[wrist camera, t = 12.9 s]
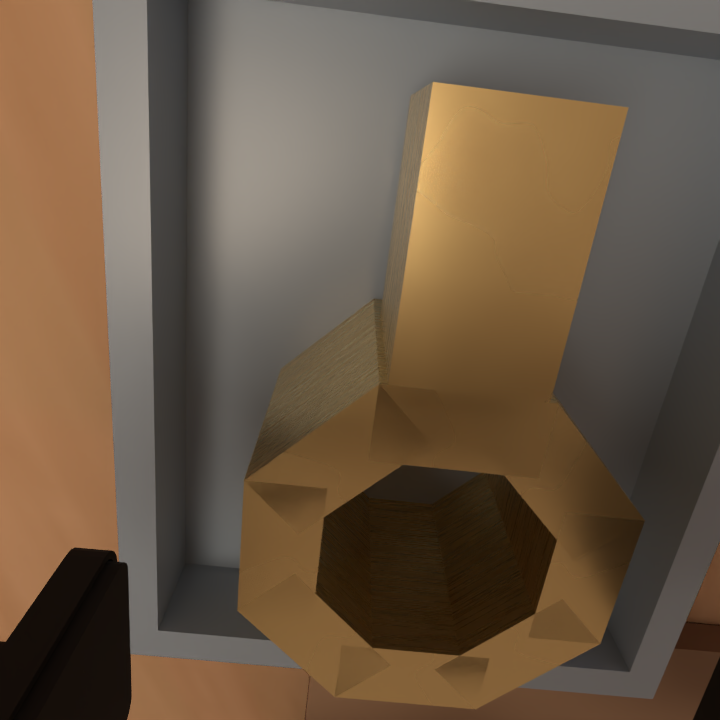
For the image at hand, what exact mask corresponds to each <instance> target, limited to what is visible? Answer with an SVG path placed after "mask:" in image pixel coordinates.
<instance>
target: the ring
mask: <svg viewBox="0 0 720 720" xmlns="http://www.w3.org/2000/svg"><path fill="white" fill-rule="evenodd" d="M628 108H629V107H622V106H614V105H606V104H599V103H591V102H583V101H576V100H568V99H561V98H553V97H545V96H538V95H530V94H522V93H515V92H507V91H499V90H492V89H484V88H476V87H469V86H461V85H454V84H446V83H438V82H432V83H430V84H429V85H427V86H425V87H424V88H422V89H421V90H419V91H417V92H416V93H414V94H412V95H411V96H410V102H409V109H408V117H407V124H406V131H405V139H404V146H403V153H402V161H401V168H400V175H399V182H398V190H397V197H396V204H395V212H394V219H393V226H392V234H391V241H390V248H389V256H388V263H387V270H386V277H385V285H384V292H383V299H382V300H381V299H372V300H371V301H370V302H368V303H367V304H366V305H364V306H363V307H362V308H361V309H359V310H358V311H357V312H355V313H354V314H353V315H351V316H350V317H349V318H347V319H346V320H345V321H343V322H342V323H341V324H339V325H338V326H337V327H335V328H334V329H333V330H331V331H330V332H329V333H327V334H326V335H325V336H324V337H322V338H321V339H320V340H318V341H317V342H316V343H314V344H313V345H312V346H310V347H309V348H308V349H306V350H305V351H304V352H302V353H301V354H300V355H298V356H297V357H296V358H294V359H293V360H292V361H291V362H289V363H288V364H287V365H285V366H284V367H283V368H281V370H280V373H279V376H278V379H277V382H276V385H275V388H274V391H273V394H272V397H271V400H270V403H269V406H268V409H267V412H266V415H265V418H264V421H263V424H262V427H261V430H260V433H259V436H258V439H257V442H256V445H255V448H254V451H253V454H252V457H251V460H250V463H249V466H248V469H247V472H246V475H245V478H244V490H243V509H242V528H241V548H240V567H239V587H238V606H237V611H238V612H239V613H240V614H242V615H243V616H244V617H245V618H246V619H247V620H248V621H249V622H251V623H252V624H253V625H254V626H255V627H256V628H257V629H258V630H260V631H261V632H262V633H263V634H264V635H265V636H266V637H267V638H269V639H270V640H271V641H272V642H273V643H274V644H275V645H276V646H278V647H279V648H280V649H281V650H282V651H283V652H284V653H285V654H287V655H288V656H289V657H290V658H291V659H292V660H293V661H294V662H296V663H297V664H298V665H299V666H300V667H301V668H302V669H303V670H305V671H306V672H307V673H308V674H309V675H310V676H311V677H312V678H314V679H315V680H316V681H317V682H318V683H319V684H320V685H321V686H323V687H324V688H325V689H326V690H327V691H328V692H329V693H330V694H332V695H333V696H334V697H338V698H350V699H361V700H373V701H385V702H396V703H408V704H419V705H431V706H442V707H454V708H466V709H477V708H479V707H481V706H483V705H485V704H487V703H489V702H491V701H492V700H494V699H496V698H498V697H500V696H502V695H504V694H506V693H508V692H510V691H512V690H514V689H515V688H517V687H519V686H521V685H523V684H525V683H527V682H529V681H531V680H533V679H535V678H536V677H538V676H540V675H542V674H544V673H546V672H548V671H550V670H552V669H554V668H556V667H557V666H559V665H561V664H563V663H565V662H567V661H569V660H571V659H573V658H575V657H577V656H578V655H580V654H582V653H584V652H586V651H588V650H590V649H592V648H594V647H596V646H598V645H599V644H601V641H602V638H603V635H604V633H605V630H606V627H607V624H608V622H609V619H610V616H611V613H612V611H613V608H614V605H615V602H616V600H617V597H618V594H619V591H620V588H621V586H622V583H623V580H624V577H625V575H626V572H627V569H628V566H629V564H630V561H631V558H632V555H633V553H634V550H635V547H636V544H637V542H638V539H639V536H640V533H641V531H642V528H643V525H644V522H645V520H644V519H643V517H642V516H641V514H640V513H639V512H638V510H637V509H636V507H635V506H634V505H633V503H632V502H631V500H630V499H629V498H628V496H627V495H626V493H625V492H624V491H623V489H622V488H621V486H620V485H619V484H618V482H617V481H616V480H615V478H614V477H613V475H612V474H611V473H610V471H609V470H608V468H607V467H606V466H605V464H604V463H603V461H602V460H601V459H600V457H599V456H598V454H597V453H596V452H595V450H594V449H593V447H592V446H591V445H590V443H589V442H588V440H587V439H586V438H585V436H584V435H583V434H582V432H581V431H580V429H579V428H578V427H577V425H576V424H575V422H574V421H573V420H572V418H571V417H570V415H569V414H568V413H567V411H566V410H565V408H564V407H563V406H562V404H561V403H560V401H559V400H558V399H557V398H556V396H555V395H554V393H553V390H554V387H555V383H556V379H557V375H558V372H559V368H560V364H561V360H562V357H563V353H564V349H565V345H566V341H567V338H568V334H569V330H570V326H571V323H572V319H573V315H574V311H575V308H576V304H577V300H578V296H579V293H580V289H581V285H582V281H583V277H584V274H585V270H586V266H587V262H588V259H589V255H590V251H591V247H592V244H593V240H594V236H595V232H596V229H597V225H598V221H599V217H600V213H601V210H602V206H603V202H604V198H605V195H606V191H607V187H608V183H609V180H610V176H611V172H612V168H613V165H614V161H615V157H616V153H617V149H618V146H619V142H620V138H621V134H622V131H623V127H624V123H625V119H626V116H627V112H628ZM402 465H411V466H420V467H430V468H440V469H449V470H459V471H469V472H478V473H480V474H478V475H477V476H475V477H474V478H472V479H471V480H469V481H467V482H466V483H464V484H463V485H461V486H460V487H458V488H456V489H455V490H453V491H452V492H450V493H449V494H447V495H445V496H444V497H442V498H441V499H439V500H438V501H436V502H434V503H433V504H425V503H415V502H405V501H395V500H385V499H375V498H369V497H368V496H367V495H366V494H365V493H364V492H363V491H364V490H366V489H367V488H369V487H370V486H372V485H373V484H375V483H376V482H378V481H379V480H381V479H382V478H384V477H385V476H387V475H388V474H390V473H391V472H393V471H394V470H396V469H397V468H399V467H400V466H402Z"/></svg>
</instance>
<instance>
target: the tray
mask: <svg viewBox="0 0 720 720" xmlns="http://www.w3.org/2000/svg"><path fill="white" fill-rule="evenodd" d="M93 20H94V41H95V62H96V83H97V104H98V125H99V147H100V168H101V189H102V210H103V231H104V252H105V273H106V294H107V315H108V336H109V357H110V378H111V399H112V420H113V441H114V462H115V483H116V504H117V525H118V546H119V562H125V563H127V565H128V580H129V618H130V654H137V655H148V656H160V657H171V658H183V659H194V660H206V661H218V662H229V663H241V664H252V665H264V666H275V667H287V668H298V669H302V668H301V667H300V666H299V665H298V664H297V663H296V662H294V661H293V660H292V659H291V658H290V657H289V656H288V655H287V654H285V653H284V652H283V651H282V650H281V649H280V648H279V647H278V646H276V645H275V644H274V643H273V642H272V641H271V640H270V639H269V638H267V637H266V636H265V635H264V634H263V633H262V632H261V631H260V630H258V629H257V628H256V627H255V626H254V625H253V624H252V623H251V622H249V621H248V620H247V619H246V618H245V617H244V616H243V615H242V614H240V613H239V612H238V611H237V606H238V587H239V567H240V548H241V528H242V509H243V490H244V478H245V475H246V472H247V469H248V466H249V463H250V460H251V457H252V454H253V451H254V448H255V445H256V442H257V439H258V436H259V433H260V430H261V427H262V424H263V421H264V418H265V415H266V412H267V409H268V406H269V403H270V400H271V397H272V394H273V391H274V388H275V385H276V382H277V379H278V376H279V373H280V370H281V368H283V367H284V366H285V365H287V364H288V363H289V362H291V361H292V360H293V359H294V358H296V357H297V356H298V355H300V354H301V353H302V352H304V351H305V350H306V349H308V348H309V347H310V346H312V345H313V344H314V343H316V342H317V341H318V340H320V339H321V338H322V337H324V336H325V335H326V334H327V333H329V332H330V331H331V330H333V329H334V328H335V327H337V326H338V325H339V324H341V323H342V322H343V321H345V320H346V319H347V318H349V317H350V316H351V315H353V314H354V313H355V312H357V311H358V310H359V309H361V308H362V307H363V306H364V305H366V304H367V303H368V302H370V301H371V300H372V299H381V300H382V299H383V292H384V285H385V277H386V270H387V263H388V256H389V248H390V241H391V234H392V226H393V219H394V212H395V204H396V197H397V190H398V182H399V175H400V168H401V161H402V153H403V146H404V139H405V131H406V124H407V117H408V109H409V102H410V96H411V95H412V94H414V93H416V92H417V91H419V90H421V89H422V88H424V87H425V86H427V85H429V84H430V83H432V82H438V83H446V84H454V85H461V86H469V87H476V88H484V89H492V90H499V91H507V92H515V93H522V94H530V95H538V96H545V97H553V98H561V99H568V100H576V101H583V102H591V103H599V104H606V105H614V106H622V107H629V108H628V112H627V116H626V119H625V123H624V127H623V131H622V134H621V138H620V142H619V146H618V149H617V153H616V157H615V161H614V165H613V168H612V172H611V176H610V180H609V183H608V187H607V191H606V195H605V198H604V202H603V206H602V210H601V213H600V217H599V221H598V225H597V229H596V232H595V236H594V240H593V244H592V247H591V251H590V255H589V259H588V262H587V266H586V270H585V274H584V277H583V281H582V285H581V289H580V293H579V296H578V300H577V304H576V308H575V311H574V315H573V319H572V323H571V326H570V330H569V334H568V338H567V341H566V345H565V349H564V353H563V357H562V360H561V364H560V368H559V372H558V375H557V379H556V383H555V387H554V390H553V393H554V395H555V396H556V398H557V399H558V400H559V401H560V403H561V404H562V406H563V407H564V408H565V410H566V411H567V413H568V414H569V415H570V417H571V418H572V420H573V421H574V422H575V424H576V425H577V427H578V428H579V429H580V431H581V432H582V434H583V435H584V436H585V438H586V439H587V440H588V442H589V443H590V445H591V446H592V447H593V449H594V450H595V452H596V453H597V454H598V456H599V457H600V459H601V460H602V461H603V463H604V464H605V466H606V467H607V468H608V470H609V471H610V473H611V474H612V475H613V477H614V478H615V480H616V481H617V482H618V484H619V485H620V486H621V488H622V489H623V491H624V492H625V493H626V495H627V496H628V498H629V499H630V500H631V502H632V503H633V505H634V506H635V507H636V509H637V510H638V512H639V513H640V514H641V516H642V517H643V519H644V520H645V522H644V525H643V528H642V531H641V533H640V536H639V539H638V542H637V544H636V547H635V550H634V553H633V555H632V558H631V561H630V564H629V566H628V569H627V572H626V575H625V577H624V580H623V583H622V586H621V588H620V591H619V594H618V597H617V600H616V602H615V605H614V608H613V611H612V613H611V616H610V619H609V622H608V624H607V627H606V630H605V633H604V635H603V638H602V641H601V644H599V645H598V646H596V647H594V648H592V649H590V650H588V651H586V652H584V653H582V654H580V655H578V656H577V657H575V658H573V659H571V660H569V661H567V662H565V663H563V664H561V665H559V666H557V667H556V668H554V669H552V670H550V671H548V672H546V673H544V674H542V675H540V676H538V677H536V678H535V679H533V680H531V681H529V682H527V683H525V684H523V685H521V686H519V687H518V688H530V689H541V690H553V691H564V692H576V693H587V694H599V695H611V696H622V697H634V698H645V699H653V697H654V695H655V693H656V690H657V688H658V686H659V683H660V681H661V679H662V676H663V674H664V672H665V669H666V667H667V664H668V662H669V660H670V657H671V655H672V653H673V650H674V648H675V646H676V643H677V641H678V639H679V636H680V634H681V632H682V629H683V627H684V624H685V622H686V620H687V617H688V615H689V613H690V610H691V608H692V606H693V603H694V601H695V599H696V596H697V594H698V591H699V589H700V587H701V584H702V582H703V580H704V577H705V575H706V573H707V570H708V568H709V566H710V563H711V561H712V559H713V556H714V554H715V551H716V549H717V547H718V544H719V542H720V0H93ZM478 474H480V473H478V472H469V471H459V470H449V469H440V468H430V467H420V466H411V465H402V466H400V467H399V468H397V469H396V470H394V471H393V472H391V473H390V474H388V475H387V476H385V477H384V478H382V479H381V480H379V481H378V482H376V483H375V484H373V485H372V486H370V487H369V488H367V489H366V490H364V491H363V492H364V493H365V494H366V495H367V496H368V497H369V498H375V499H385V500H395V501H405V502H415V503H425V504H433V503H434V502H436V501H438V500H439V499H441V498H442V497H444V496H445V495H447V494H449V493H450V492H452V491H453V490H455V489H456V488H458V487H460V486H461V485H463V484H464V483H466V482H467V481H469V480H471V479H472V478H474V477H475V476H477V475H478Z"/></svg>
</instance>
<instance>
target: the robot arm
mask: <svg viewBox="0 0 720 720" xmlns="http://www.w3.org/2000/svg"><path fill="white" fill-rule="evenodd" d="M130 704H131V657H130V618H129V580H128V565H127V563H125V562H117V557H116V554H115V552H114V551H108V550H96V549H85V548H73V549H71V550H70V551H69V553H68V554H67V555H66V556H65V558H64V559H63V561H62V562H61V564H60V565H59V566H58V568H57V569H56V571H55V572H54V574H53V575H52V576H51V578H50V579H49V581H48V582H47V584H46V585H45V587H44V588H43V589H42V591H41V592H40V594H39V595H38V597H37V598H36V599H35V601H34V602H33V604H32V605H31V607H30V608H29V609H28V611H27V612H26V614H25V615H24V617H23V618H22V620H21V621H20V622H19V624H18V625H17V627H16V628H15V630H14V631H13V632H12V634H11V635H10V637H9V638H8V640H7V641H6V642H1V641H0V720H127V717H128V714H129V709H130ZM693 720H720V657H719V660H718V662H717V664H716V667H715V669H714V671H713V674H712V676H711V678H710V681H709V683H708V685H707V688H706V690H705V692H704V695H703V697H702V699H701V702H700V704H699V706H698V709H697V711H696V713H695V716H694V718H693Z"/></svg>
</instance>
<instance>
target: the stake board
mask: <svg viewBox="0 0 720 720" xmlns="http://www.w3.org/2000/svg"><path fill="white" fill-rule="evenodd" d="M719 657H720V626H717V625H706V624H695V623H685V624H684V627H683V629H682V632H681V634H680V636H679V639H678V641H677V643H676V646H675V648H674V650H673V653H672V655H671V657H670V660H669V662H668V664H667V667H666V669H665V672H664V674H663V676H662V679H661V681H660V683H659V686H658V688H657V690H656V693H655V695H654V697H653V699H645V698H634V697H622V696H611V695H599V694H587V693H576V692H564V691H553V690H541V689H530V688H518V687H517V688H515V689H514V690H512V691H510V692H508V693H506V694H504V695H502V696H500V697H498V698H496V699H494V700H492V701H491V702H489V703H487V704H485V705H483V706H481V707H479V708H477V709H466V708H454V707H442V706H431V705H419V704H408V703H396V702H385V701H373V700H361V699H350V698H338V697H334V696H333V695H332V694H330V693H329V692H328V691H327V690H326V689H325V688H324V687H323V686H321V685H320V684H319V683H318V682H317V681H316V680H315V679H314V678H312V677H311V676H310V679H309V687H308V696H307V705H306V713H305V720H693V718H694V716H695V713H696V711H697V709H698V706H699V704H700V702H701V699H702V697H703V695H704V692H705V690H706V688H707V685H708V683H709V681H710V678H711V676H712V674H713V671H714V669H715V667H716V664H717V662H718V660H719Z"/></svg>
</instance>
